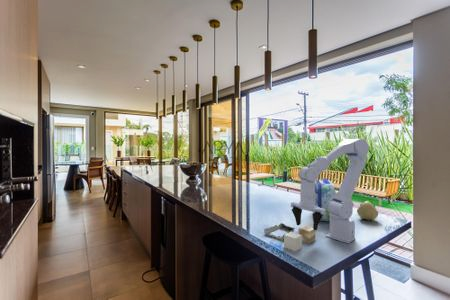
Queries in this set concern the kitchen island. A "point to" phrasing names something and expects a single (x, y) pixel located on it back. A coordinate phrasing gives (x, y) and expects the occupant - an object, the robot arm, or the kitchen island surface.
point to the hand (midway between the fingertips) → (306, 227)
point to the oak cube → (307, 234)
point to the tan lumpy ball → (367, 211)
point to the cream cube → (293, 241)
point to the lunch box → (324, 195)
